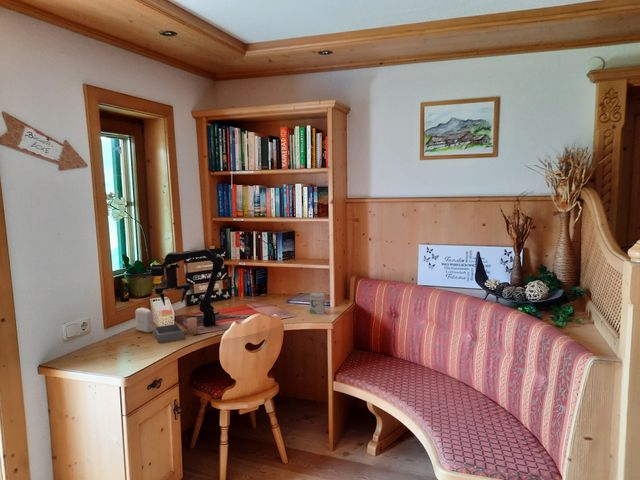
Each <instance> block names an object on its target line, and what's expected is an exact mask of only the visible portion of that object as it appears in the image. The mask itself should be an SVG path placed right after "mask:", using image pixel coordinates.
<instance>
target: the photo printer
mask: <svg viewBox="0 0 640 480" xmlns="http://www.w3.org/2000/svg"><path fill="white" fill-rule="evenodd" d="M134 311H135V313H134V314H135V315H134V316H135V329H136V331H140V332H144V333H152V332H154V330H153V327H154V322H153V321H154V319H153V311H152V310H150V309H149V308H145V307H138V308H137V309H135V310H134Z"/></svg>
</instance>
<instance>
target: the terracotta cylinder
mask: <svg viewBox="0 0 640 480" xmlns="http://www.w3.org/2000/svg"><path fill="white" fill-rule="evenodd" d="M186 324H187V325H186V326H187V327H186V328H187V331H186V332H187V335H190V336H195V335H197V334H198V318H197V317H196V316H195V317H194V316H193V317H188V318H187V319H186Z"/></svg>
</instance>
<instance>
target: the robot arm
mask: <svg viewBox="0 0 640 480" xmlns="http://www.w3.org/2000/svg"><path fill="white" fill-rule="evenodd" d="M202 257H205V258H206V259H207V260H208V261H210V262H211V263H212V268H211V269H212V270H211V275H210V277H209V281H208V283H207V288H206V291H205V294H204V296H200V301H199V302H198V307H199V308H198V309H199V311H200V312H201V313H202V317H201V324H202V325H203V326H204V327H212V326H213V327H214V326H217V325H218V324H217V323H216V313H215V307H214V306H212V296H213V294H214V289H215V287H216V286H215V285H216V283H217V280H218V276H219V274H220V271H221V270H222V269H223V268H222V267H223V266H224V263H225V259H224V257H223V256H222V255H220V254H216V253H214V252H213V251H211V250H209V248H208V247H207V248H203V249H202V248H201V249H196V250H192V251H185V252H176V251H175V252H174V251H172V252H168V253H167V254H166V255H165V256H164V261H163V262H162V263H152V264H151V267H150V268H151V269H150V276H151V277H152V278H153V277H154V278H155V277H156V278H157V277H163V276H164V275H165V278H162V279H161V281H160V284H161V286H154V287H153V293H154V294H155V295H157V296H159V297H160V298H161V299H160V300H161V302H162V304H163V306H166V302H165V293H164V292H169V291H177V290H180V304H182V303H183V301H184V298H185V296H186V295H187V293H189V291H190V290H192V287H191V284H189V283H187V282H186V283H181V284H180V285H178V283H179V282H178V269H180V268H181V265H180V264H179V262H183V261H184V260H191V259H196V258H202ZM162 286H164V287H162Z"/></svg>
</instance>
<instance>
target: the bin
mask: <svg viewBox="0 0 640 480" xmlns="http://www.w3.org/2000/svg"><path fill="white" fill-rule="evenodd" d="M184 334H185V331H184V330H183V328H182V327H181V326H180V325H179V324H178V323H173V324H166V325H158V326H153V336H154V337H155V339H156V341H157V342H158V343H159V344H160V343H167V342H172V341H178V340H184V339H185V335H184Z"/></svg>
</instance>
